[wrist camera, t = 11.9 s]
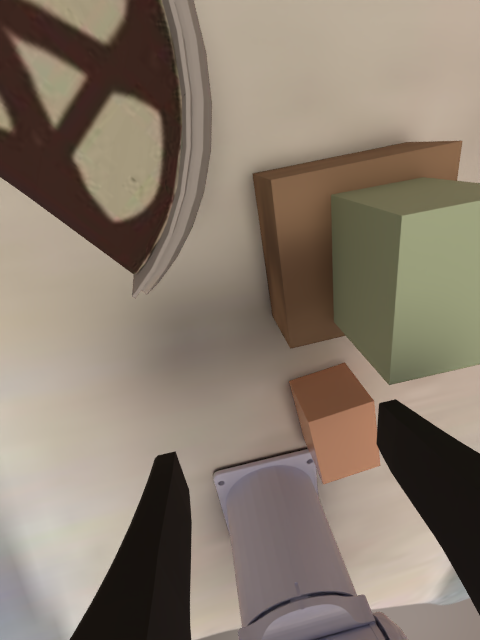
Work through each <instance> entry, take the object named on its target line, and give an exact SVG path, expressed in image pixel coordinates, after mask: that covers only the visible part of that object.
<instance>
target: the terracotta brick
mask: <svg viewBox="0 0 480 640" xmlns="http://www.w3.org/2000/svg"><path fill="white" fill-rule="evenodd" d="M289 383H290V387H291V391H292V395H293V398H294V402H295V406H296V410H297V414H298V417H299V421H300V425H301V429H302V433H303V437H304V440H305V442H306V445H307V447H308V449H309V452H310V454H311V457H312V459H313V461H314V464H315V466H316V468H317V471H318V473H319V475H320V478H321V480H322V482H323V484H326V483H329V482H332V481H335V480H338V479H341V478H344V477H347V476H350V475H353V474H356V473H359V472H362V471H365V470H368V469H371V468H374V467H377V466H380V457H379V448H378V446H377V444H376V442H377V427H376V417H375V406H374V400H373V399H372V398H371V396H370V395H369V394H368V393H367V391H366V390H365V389H364V387H363V386H362V385H361V383H360V382H359V381H358V379H357V378H356V377H355V376H354V374H353V373H352V372H351V370H350V369H349V368H348V366H347V365H346V364H345V363H342V364H339V365H336V366H333V367H330V368H327V369H324V370H321V371H318V372H315V373H312V374H309V375H306V376H303V377H300V378H297V379H294V380H291V381H289Z"/></svg>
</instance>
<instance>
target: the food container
mask: <svg viewBox="0 0 480 640" xmlns="http://www.w3.org/2000/svg"><path fill="white" fill-rule="evenodd" d="M211 121H212V101H211V92H210V83H209V74H208V65H207V56H206V50H205V46H204V42H203V38H202V33H201V29H200V25H199V21H198V17H197V12H196V8H195V4H194V0H0V177H1V178H2V179H4V180H5V181H7V182H8V183H10V184H11V185H12V186H14V187H15V188H17V189H18V190H20V191H21V192H22V193H24V194H25V195H27V196H28V197H29V198H31V199H32V200H33V201H35V202H36V203H37V204H39V205H40V206H42V207H43V208H44V209H46V210H47V211H48V212H50V213H51V214H52V215H54V216H55V217H57V218H58V219H59V220H61V221H62V222H63V223H65V224H66V225H67V226H69V227H70V228H71V229H73V230H74V231H76V232H77V233H78V234H80V235H81V236H82V237H84V238H85V239H86V240H88V241H89V242H90V243H92V244H93V245H95V246H96V247H97V248H99V249H100V250H101V251H103V252H104V253H105V254H107V255H108V256H110V257H111V258H112V259H114V260H115V261H116V262H118V263H119V264H120V265H122V266H123V267H125V268H126V269H127V270H129V271H130V272H131V273H133V274H134V279H133V293H132V297H134V298H136V297H137V296H138V294H139V293H140V291H143V292H144V293H145V294H148V293H149V292H150V291H151V290H152V289H153V288H154V287H155V286H156V285H157V284H158V283H159V282H160V280H161V279H162V277H163V276H164V275H165V273H166V272H167V270H168V269H169V268H170V266H171V265H172V263H173V262H174V261H175V259H176V258H177V256H178V254H179V252H180V250H181V248H182V247H183V245H184V243H185V241H186V239H187V237H188V235H189V233H190V231H191V229H192V227H193V224H194V221H195V218H196V215H197V212H198V209H199V205H200V202H201V199H202V196H203V193H204V189H205V183H206V177H207V171H208V165H209V159H210V153H211Z"/></svg>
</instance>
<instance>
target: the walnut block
mask: <svg viewBox="0 0 480 640" xmlns="http://www.w3.org/2000/svg"><path fill="white" fill-rule="evenodd" d="M461 147H462V141H437V142H406V143H401V144H396V145H391V146H386V147H381V148H376V149H372V150H367V151H362V152H357V153H352V154H347V155H342V156H337V157H332V158H327V159H322V160H317V161H312V162H308V163H303V164H298V165H293V166H288V167H283V168H278V169H273V170H268V171H263V172H258V173H253V181H254V188H255V195H256V202H257V209H258V216H259V223H260V230H261V237H262V245H263V252H264V259H265V266H266V273H267V280H268V287H269V294H270V302H271V309H272V316H273V318H274V320H275V321H276V323H277V325H278V327H279V329H280V330H281V332H282V334H283V336H284V338H285V339H286V341H287V343H288V345H289V347H290V349H291V348H295V347H299V346H304V345H308V344H312V343H316V342H320V341H325V340H329V339H333V338H337V337H341V336H346V335H345V334H344V333H343V332H342V331H341V330H340V328H339V327H338V326H337V325H336V324H335V323H334V306H333V262H332V218H331V195H332V194H338V193H343V192H348V191H353V190H359V189H364V188H369V187H374V186H380V185H385V184H390V183H396V182H401V181H406V180H411V179H417V178H422V177H426V178H435V179H444V180H453V181H457V176H458V169H459V162H460V154H461Z"/></svg>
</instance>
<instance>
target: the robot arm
mask: <svg viewBox="0 0 480 640" xmlns="http://www.w3.org/2000/svg"><path fill="white" fill-rule="evenodd" d="M376 444H377V446H378V448H379V450H380V452H381V454H382V456H383V458H384V460H385V462H386V463H387V465H388V467H389V469H390V471H391V473H392V474H393V476H394V477H395V479H396V480H397V482H398V483H399V485H400V486H401V488H402V489H403V490H404V492H405V493H406V495H407V496H408V498H409V499H410V501H411V502H412V504H413V505H414V507H415V508H416V510H417V511H418V513H419V514H420V515H421V517H422V518H423V520H424V521H425V523H426V524H427V526H428V527H429V529H430V530H431V532H432V533H433V535H434V536H435V538H436V539H437V541H438V542H439V544H440V545H441V547H442V549H443V550H444V552H445V554H446V555H447V557H448V559H449V561H450V562H451V564H452V566H453V568H454V569H455V571H456V573H457V575H458V577H459V578H460V580H461V582H462V584H463V585H464V587H465V589H466V591H467V593H468V595H469V596H470V598H471V600H472V602H473V604H474V606H475V607H476V609H477V611H478V613H479V615H480V453H478V452H476V451H474V450H473V449H471V448H469V447H468V446H466V445H465V444H463V443H461V442H460V441H458V440H457V439H455V438H453V437H452V436H450V435H449V434H447V433H445V432H444V431H442V430H441V429H439V428H438V427H436V426H435V425H433V424H432V423H430V422H429V421H427V420H426V419H424V418H423V417H421V416H420V415H418V414H417V413H415V412H414V411H412V410H411V409H409V408H408V407H406V406H405V405H403V404H402V403H400V402H399V401H397V400H396V399H395V400H391V401H387V402H383V403H379V413H378V428H377V442H376ZM213 479H214V483H215V487H216V490H217V493H218V497H219V500H220V504H221V507H222V511H223V514H224V517H225V521H226V524H227V528H228V531H229V534H230V538H231V545H232V553H233V561H234V568H235V576H236V584H237V592H238V599H239V607H240V615H241V622H242V628H240V629H239V630H238V636H239V640H408V638H407V637H406V635H405V634H404V632H403V631H402V630H401V628H400V627H399V626H398V625H397V624H396V623H394V622H393V621H391V620H390V619H389V618H388V617H387V616H386V615H385V614H384V613H382V612H375V613H372V612H371V609H370V607H369V604H368V602H367V599H366V597H365V595H358V596H357V594H356V591H355V589H354V586H353V584H352V581H351V579H350V576H349V574H348V571H347V568H346V566H345V563H344V561H343V558H342V556H341V553H340V551H339V548H338V546H337V543H336V541H335V538H334V536H333V533H332V531H331V528H330V526H329V523H328V521H327V518H326V516H325V513H324V510H323V508H322V505H321V503H320V500H319V498H318V488H317V472H316V466H315V464H314V461H313V459H312V457H311V454H310V452H309V449H306V450H302V451H298V452H293V453H289V454H285V455H281V456H277V457H273V458H269V459H265V460H260V461H256V462H252V463H248V464H244V465H240V466H236V467H232V468H227V469H223V470H219V471H216V472H215V473H214V474H213ZM191 525H192V522H191V508H190V496H189V488H188V486H187V483H186V480H185V477H184V474H183V472H182V469H181V466H180V463H179V460H178V458H177V455H176V452H171V453H167V454H163V455H158V456H157V457H156V458H155V460H154V463H153V466H152V469H151V472H150V475H149V478H148V481H147V484H146V487H145V489H144V492H143V495H142V497H141V500H140V502H139V505H138V507H137V510H136V512H135V514H134V517H133V519H132V522H131V524H130V526H129V529H128V531H127V533H126V535H125V537H124V539H123V542H122V544H121V546H120V548H119V550H118V552H117V555H116V557H115V559H114V561H113V563H112V565H111V567H110V569H109V571H108V573H107V575H106V577H105V578H104V580H103V582H102V584H101V586H100V588H99V590H98V592H97V593H96V595H95V597H94V599H93V601H92V603H91V604H90V606H89V608H88V609H87V611H86V613H85V615H84V616H83V618H82V620H81V621H80V623H79V625H78V627H77V628H76V630H75V632H74V633H73V635H72V637H71V638H70V640H191V630H190V572H191Z"/></svg>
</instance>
